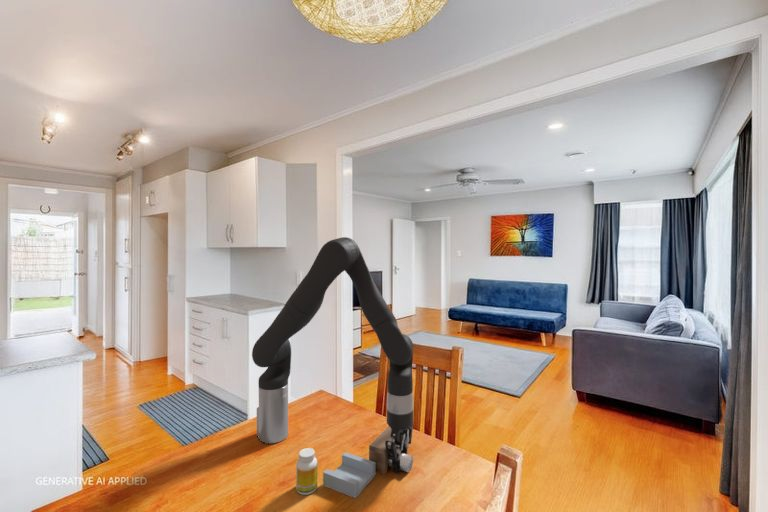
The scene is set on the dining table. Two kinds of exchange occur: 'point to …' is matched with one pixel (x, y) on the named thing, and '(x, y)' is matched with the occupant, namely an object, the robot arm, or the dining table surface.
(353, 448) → the dining table surface
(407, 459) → the axle
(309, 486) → the supplement bottle
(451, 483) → the dining table surface
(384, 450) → the beam
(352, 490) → the cradle
